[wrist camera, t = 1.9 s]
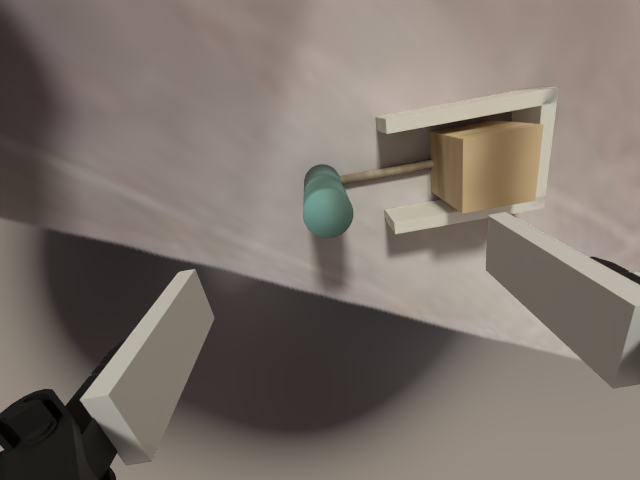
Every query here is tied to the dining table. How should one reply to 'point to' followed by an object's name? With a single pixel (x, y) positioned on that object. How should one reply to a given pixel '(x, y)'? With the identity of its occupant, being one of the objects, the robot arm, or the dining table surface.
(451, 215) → the rail lane
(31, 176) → the dining table surface
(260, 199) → the dining table surface
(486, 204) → the corded oak block
